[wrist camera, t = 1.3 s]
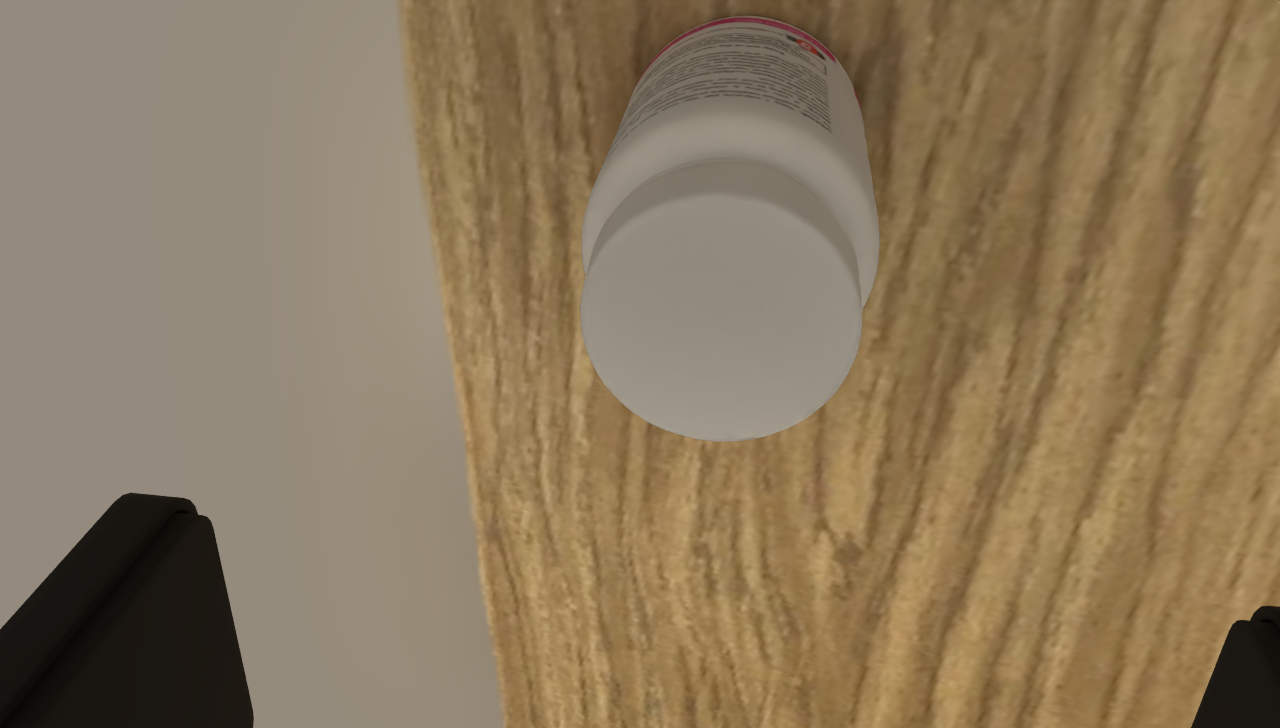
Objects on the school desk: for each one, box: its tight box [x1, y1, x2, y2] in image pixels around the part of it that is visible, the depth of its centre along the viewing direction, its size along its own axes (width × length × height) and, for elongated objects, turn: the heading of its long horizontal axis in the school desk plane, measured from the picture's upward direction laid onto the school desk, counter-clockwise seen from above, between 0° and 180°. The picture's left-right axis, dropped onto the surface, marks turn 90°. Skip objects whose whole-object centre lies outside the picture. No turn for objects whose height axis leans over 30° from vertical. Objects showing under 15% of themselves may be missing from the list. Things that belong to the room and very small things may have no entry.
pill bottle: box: [580, 16, 880, 442], centre depth 19 cm, size 5×5×8 cm
